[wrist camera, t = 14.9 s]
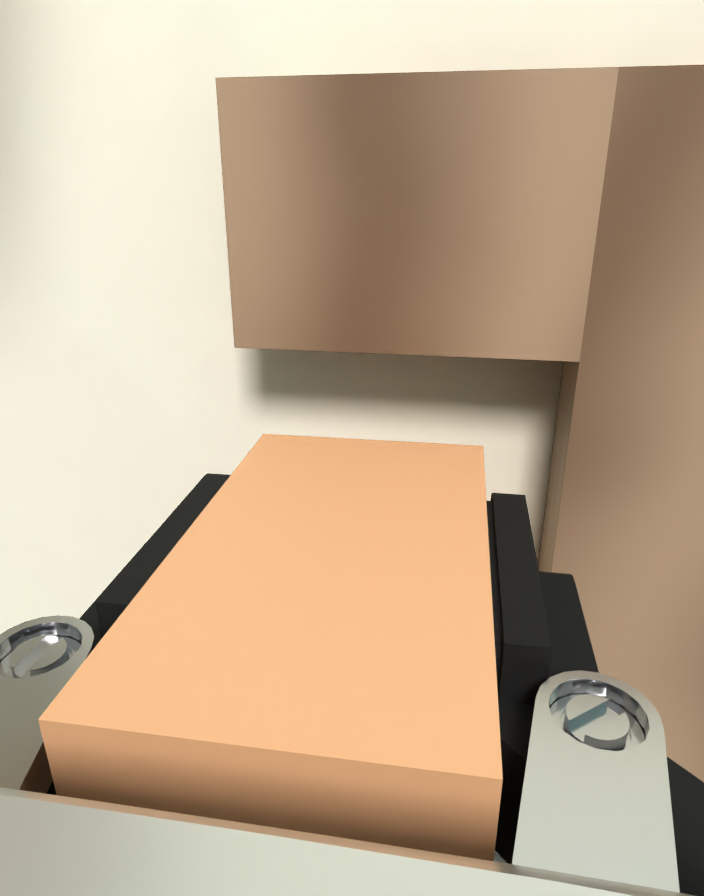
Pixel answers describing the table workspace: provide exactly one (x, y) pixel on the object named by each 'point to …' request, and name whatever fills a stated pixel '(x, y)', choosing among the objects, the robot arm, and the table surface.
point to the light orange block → (307, 656)
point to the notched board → (512, 297)
